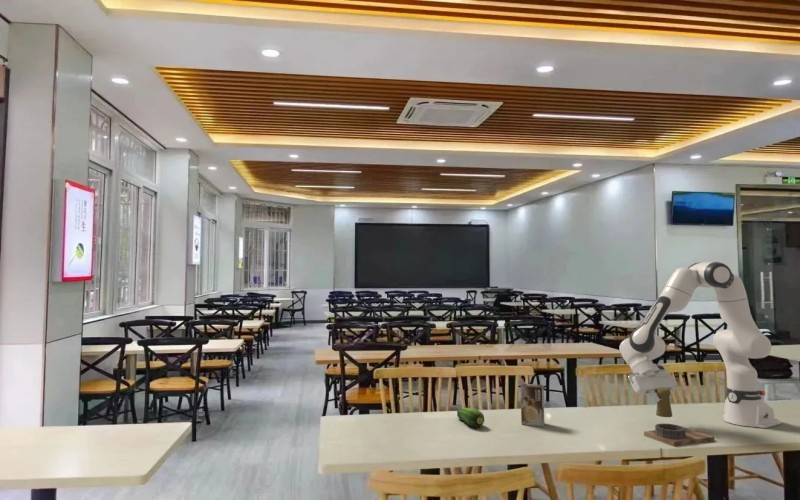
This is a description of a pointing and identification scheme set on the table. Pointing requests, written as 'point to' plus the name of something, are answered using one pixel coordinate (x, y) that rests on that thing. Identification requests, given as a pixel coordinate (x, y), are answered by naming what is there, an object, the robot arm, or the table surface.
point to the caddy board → (687, 440)
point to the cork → (663, 403)
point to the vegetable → (471, 416)
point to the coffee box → (532, 405)
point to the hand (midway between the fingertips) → (664, 400)
